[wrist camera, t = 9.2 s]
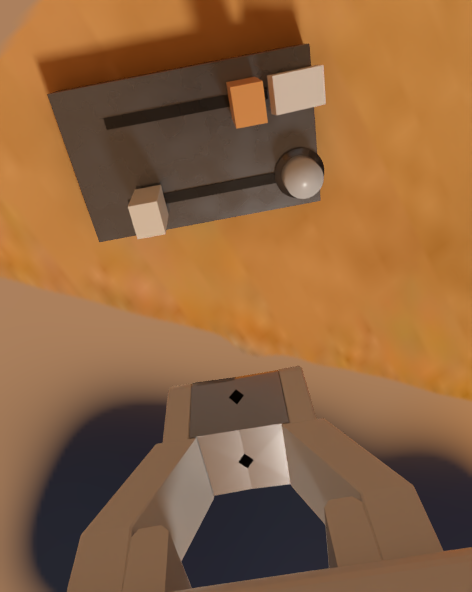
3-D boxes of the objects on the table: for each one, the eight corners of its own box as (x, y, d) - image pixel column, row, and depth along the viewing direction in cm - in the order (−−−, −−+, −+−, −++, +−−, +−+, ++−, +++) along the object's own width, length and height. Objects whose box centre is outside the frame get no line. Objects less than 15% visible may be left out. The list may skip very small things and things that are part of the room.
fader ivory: (160, 184, 33) (156, 201, 30) (168, 214, 34) (165, 234, 31) (134, 189, 33) (127, 206, 30) (143, 219, 34) (137, 239, 31)
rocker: (316, 64, 30) (323, 65, 29) (319, 103, 31) (325, 104, 30) (266, 75, 29) (272, 76, 28) (271, 113, 30) (276, 115, 29)
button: (316, 151, 33) (322, 157, 31) (318, 188, 34) (324, 194, 33) (279, 158, 33) (283, 164, 32) (283, 194, 34) (287, 202, 33)
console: (308, 42, 31) (317, 42, 29) (319, 192, 37) (327, 201, 35) (55, 91, 32) (44, 95, 29) (103, 232, 37) (98, 245, 35)
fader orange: (254, 76, 30) (262, 81, 27) (259, 113, 31) (267, 122, 28) (226, 82, 30) (230, 87, 27) (232, 119, 31) (236, 128, 28)
